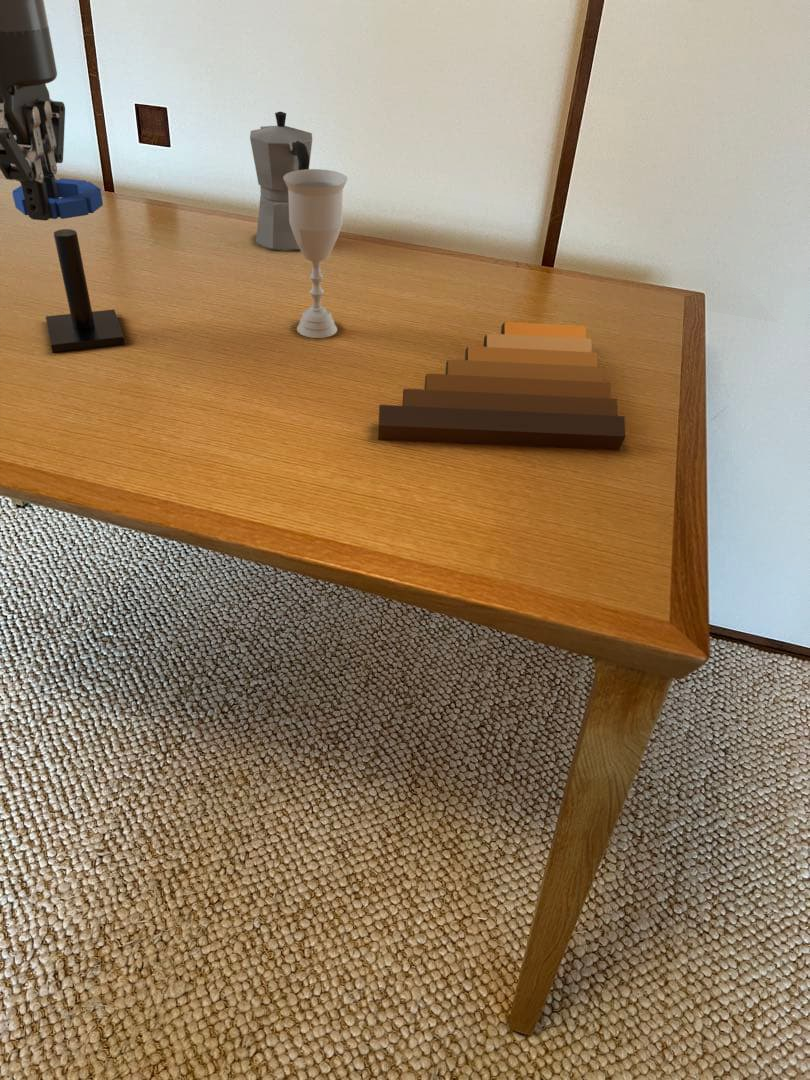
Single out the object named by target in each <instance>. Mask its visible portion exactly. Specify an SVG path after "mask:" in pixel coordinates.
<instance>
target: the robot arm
mask: <svg viewBox="0 0 810 1080" xmlns="http://www.w3.org/2000/svg"><path fill="white" fill-rule="evenodd" d="M55 59H56V58H55V55H54V48H53V44H52V38H51V32H50V26H49V22H48V16H47V12H46V6H45V1H44V0H0V172H1V173H2V175H3V176H4V178H5V179H6V180H10V181H12V180H15V181H17V182H19V183H20V186H21V185H22V190H23V194H24V198H25V203H26V207H27V212H28V215H27V216H28V217H29V218H30V219H31V220H36V221H45V222H46V221H48V220H50V218H51V216H52V215H51V210H50V205H49V199H48V198H53V199H58V198H59V196H58V191H57V187H56V182H55V179H56V178H55V177H56V176H55V175H57V173H58V166H57V164H62V163H63V162H64V151H65V150H64V149H65V148H64V146H65V127H66V124H65V123H66V106H65V103H64V102H63V101H59V100H52V99H51V96H50V92H49V89H48V87H47V85H46V84H49V83H52V82H53V81H55V80H56V79H57V76H58V70H57V64H56V60H55Z"/></svg>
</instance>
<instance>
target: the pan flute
mask: <svg viewBox="0 0 810 1080" xmlns="http://www.w3.org/2000/svg"><path fill="white" fill-rule="evenodd" d="M586 328H587V326H586V325H573V324H557V323H556V324H555V323H535V322H515V321H504V322H503V323H502V325H501V327H500V333H486V334H485V335H484V337H483V344H482V345H483V346H476V345H475V346H474V345H467V347H466V348H465V355H464V359H452V358H451V359H450V358H448V359H447V360H446V362H445V373H426V374H425V376H424V389H419V388H418V389H416V388H403V390H402V405H394V404H393V405H391V404H379V408H378V409H379V411H378V428H377V429H378V430H377V432H378V433H377V434H378V435H377V440H382V441H383V440H384V441H401V442H402V441H406V442H424V443H425V442H426V443H448V444H449V443H451V444H473V445H492V446H493V445H496V446H514V447H515V446H518V447H519V446H520V447H538V448H539V447H541V448H560V449H561V448H563V449H564V448H565V449H584V450H585V449H586V450H609V451H620V449H621V447H622V445H623V443H624V440H625V439H626V421H625V420H626V418H625V415H618V411H619V410H618V398H612V397H611V382H609V381H605V376H604V374H605V373H604V372H605V371H604V367H603V366H598V352H597V351H596V352H595V351H594V352H593V351H592V349H593V347H592V338H587V329H586Z"/></svg>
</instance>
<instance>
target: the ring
mask: <svg viewBox="0 0 810 1080" xmlns="http://www.w3.org/2000/svg"><path fill="white" fill-rule="evenodd" d="M55 182H56V187H57V191H58V196H59V198H58V199H53V198H48V199H49V205H50V210H51V215H52V216H51V218H50V219H51V220H57V219H61V220H64V219H70V218H77V217H83V216H88V215H90V214H94V213H95V212H96V211H97V210H99V209H101V207H102V206H104V203H103V201H104V200H103V196H102V195H103V194H102V189H101V187H99V186H97V185H96V184H94V183H92V182H91V181H87V180H85V179H74V178H64V177H63V178H62V177H60V178H59V179H57V178H55ZM11 194H12V198H13V202H14V207H15V209H17V210H18V211H20V212H21V213H22V214H23V215H24V216H29V215H28V212H27V207H26V203H25V198H24V194H23V190H22V185H21V184H20V186H18V187H17V188H15V189H13V190H12V192H11ZM50 219H49V220H50Z"/></svg>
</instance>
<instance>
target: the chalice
mask: <svg viewBox="0 0 810 1080" xmlns="http://www.w3.org/2000/svg"><path fill="white" fill-rule="evenodd" d="M283 178H284V181H285V183H286V185H287V187H288V195H289V222H290V226H291V229H292V232H293V234H294V237H295V240H296V242H297V244H298V246H299V248H300V250H299V251H301V254H302V256H303V258H304V259H305V260H307V261H309V262H311V265H312V269H311V274H310V275H309V279H310V280H311V282H312V286H311V289H310V290H309V291H308V292H309V294H310V295H311V298H312V305H311V306H310V307H309V308H307V309H305V310H304V312H302V314H301V318H300V320H299V324H298V325H297V327H296V331H297V333H298V334H299V335H302V336H303V337H307V338H311V339H323V338H329V337H331V336H332V337H333V336H335V334H337V332H338V326H337V325H336V323H335V320H334V318H333V316H332V313H331V312H330V311H329V310H328V309H327V308H325V307H324V306H323V305H322V295H323V294H324V293H325V291H324V290H323V289H322V286H321V285H322V284H321V283H322V280H323V278H324V275H323V274H322V270H321V266H322V262H323V261H326V260H328V259H329V257H330V255H331V252H332V250H333V248H335V245H336V243H337V240H338V238H339V235H340V232H341V229H342V226H343V223H344V222H343V221H344V219H343V218H344V217H343V214H344V213H343V211H344V209H343V208H344V205H343V204H344V202H343V201H344V188H345V186H346V184H347V181H348V177H347V175H345V174H343V173H342V172H339V171H335V170H331V169H322V168H321V169H318V168H317V169H316V168H309V169H305V170H297V171H293V172H290V173H287V174H285V175H284V176H283Z"/></svg>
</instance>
